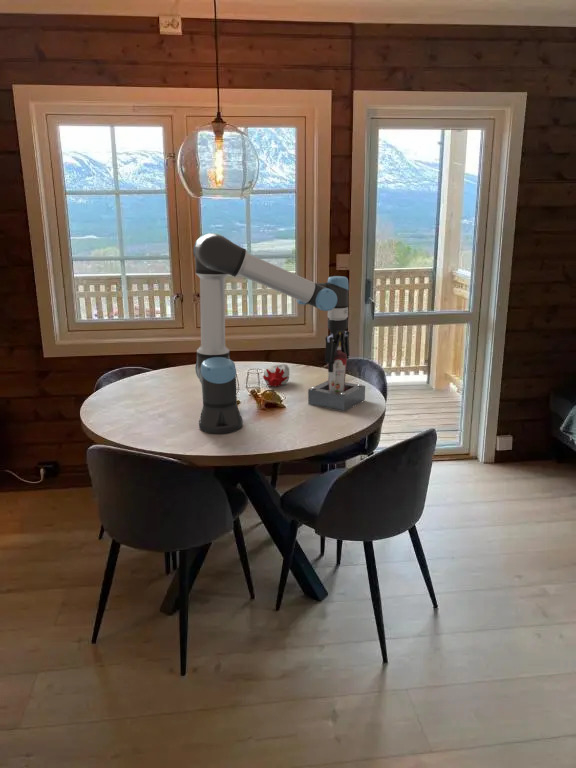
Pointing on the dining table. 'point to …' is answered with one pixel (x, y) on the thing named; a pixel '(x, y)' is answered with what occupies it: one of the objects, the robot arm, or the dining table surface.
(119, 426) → the dining table surface
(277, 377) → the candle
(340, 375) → the liquor
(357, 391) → the housing
